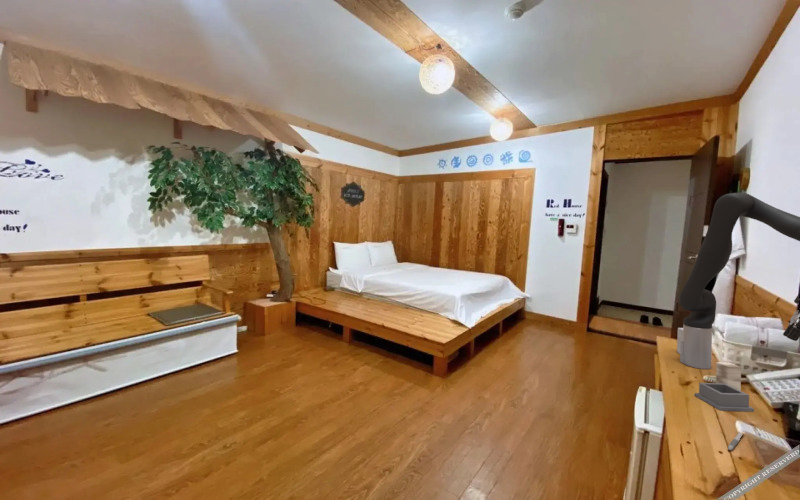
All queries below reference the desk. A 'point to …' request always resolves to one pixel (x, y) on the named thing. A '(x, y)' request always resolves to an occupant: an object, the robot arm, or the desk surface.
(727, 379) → the cream block
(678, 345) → the skincare box
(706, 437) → the desk surface
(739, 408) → the pocket stand
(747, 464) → the desk surface
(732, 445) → the pen
